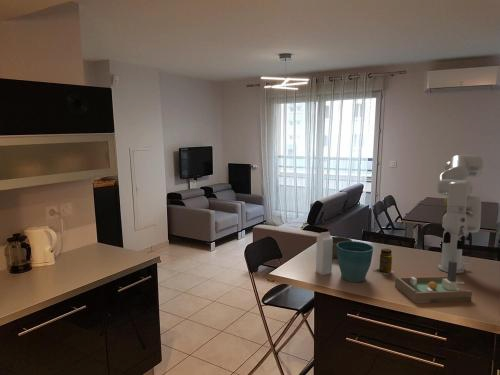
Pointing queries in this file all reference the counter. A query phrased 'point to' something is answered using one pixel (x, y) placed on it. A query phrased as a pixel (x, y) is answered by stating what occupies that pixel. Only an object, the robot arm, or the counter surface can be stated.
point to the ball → (432, 285)
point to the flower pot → (354, 260)
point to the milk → (324, 253)
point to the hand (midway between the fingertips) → (453, 245)
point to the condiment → (385, 262)
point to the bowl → (336, 241)
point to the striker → (451, 277)
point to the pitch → (429, 290)
